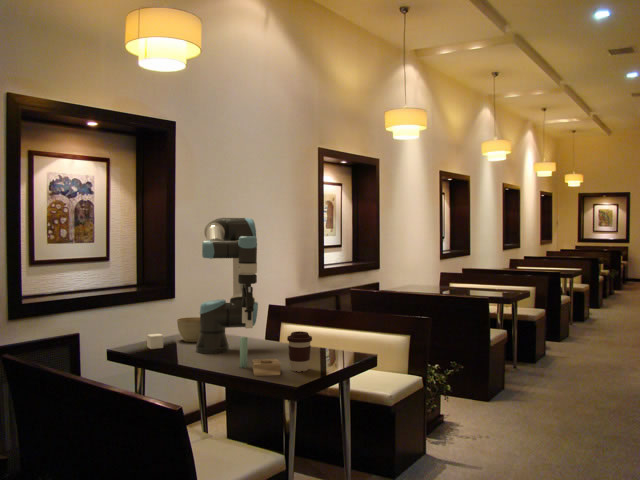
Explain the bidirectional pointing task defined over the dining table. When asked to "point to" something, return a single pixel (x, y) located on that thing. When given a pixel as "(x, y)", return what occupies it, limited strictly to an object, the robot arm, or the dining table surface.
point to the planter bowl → (189, 328)
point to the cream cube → (154, 341)
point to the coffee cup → (299, 351)
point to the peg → (243, 352)
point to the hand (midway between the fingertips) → (247, 325)
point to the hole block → (266, 367)
